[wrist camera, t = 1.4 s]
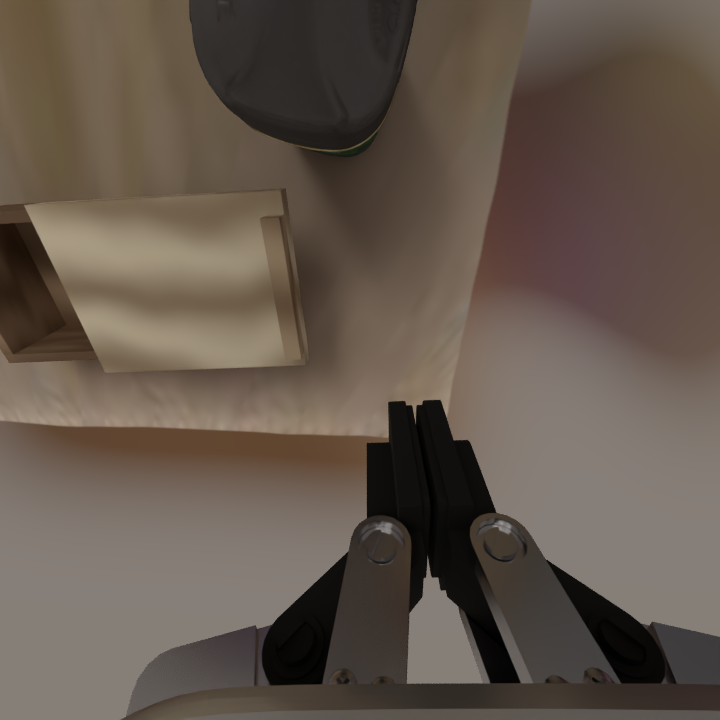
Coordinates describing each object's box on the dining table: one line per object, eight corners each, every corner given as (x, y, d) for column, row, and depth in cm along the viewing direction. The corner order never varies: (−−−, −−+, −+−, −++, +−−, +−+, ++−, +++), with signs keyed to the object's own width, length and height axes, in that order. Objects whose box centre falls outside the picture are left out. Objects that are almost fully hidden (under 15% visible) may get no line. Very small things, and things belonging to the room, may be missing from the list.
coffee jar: (375, 165, 29) (388, 172, 13) (280, 143, 28) (166, 122, 12) (405, 8, 24) (486, -293, 8) (291, -23, 24) (131, -415, 7)
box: (4, 205, 31) (-84, 216, 25) (183, 194, 30) (137, 203, 24) (68, 329, 37) (9, 362, 31) (218, 322, 36) (188, 355, 30)
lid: (43, 202, 24) (3, 208, 21) (285, 188, 23) (275, 192, 21) (117, 363, 30) (92, 382, 28) (309, 355, 30) (303, 375, 27)
